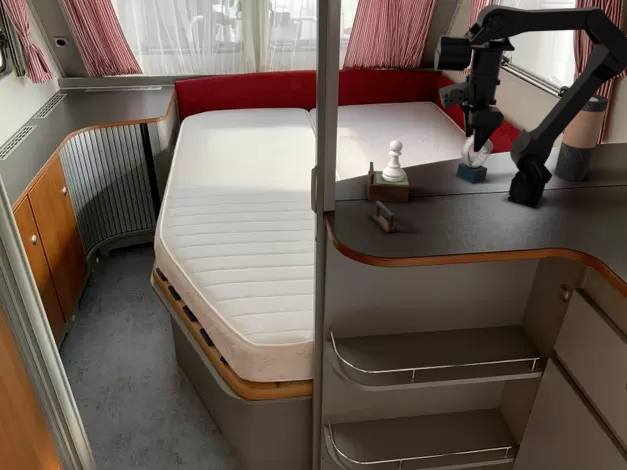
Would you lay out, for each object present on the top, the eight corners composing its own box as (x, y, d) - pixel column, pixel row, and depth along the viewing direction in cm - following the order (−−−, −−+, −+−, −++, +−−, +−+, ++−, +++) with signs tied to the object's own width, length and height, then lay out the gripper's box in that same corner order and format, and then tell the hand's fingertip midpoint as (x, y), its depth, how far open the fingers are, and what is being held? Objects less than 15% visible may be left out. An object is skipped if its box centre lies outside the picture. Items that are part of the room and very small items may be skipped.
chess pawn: (408, 179, 121) (412, 142, 116) (390, 183, 119) (394, 145, 114) (395, 171, 125) (399, 135, 120) (377, 175, 123) (380, 138, 118)
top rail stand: (404, 187, 127) (407, 162, 124) (407, 202, 120) (410, 176, 117) (367, 185, 128) (368, 160, 124) (367, 200, 121) (369, 174, 117)
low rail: (372, 217, 114) (374, 201, 112) (379, 216, 114) (380, 200, 112) (387, 232, 108) (388, 215, 106) (394, 231, 109) (396, 214, 107)
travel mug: (588, 182, 132) (613, 103, 122) (556, 179, 133) (578, 100, 123) (581, 170, 138) (604, 94, 128) (551, 167, 140) (571, 91, 129)
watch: (490, 178, 133) (499, 136, 127) (467, 184, 129) (475, 142, 124) (474, 170, 137) (481, 129, 131) (451, 176, 133) (458, 134, 128)
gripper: (438, 60, 117) (429, 128, 125) (452, 82, 101) (441, 158, 109) (489, 62, 117) (477, 130, 125) (511, 84, 101) (495, 160, 108)
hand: (471, 144), depth 117 cm, fingers open, 9 cm apart
